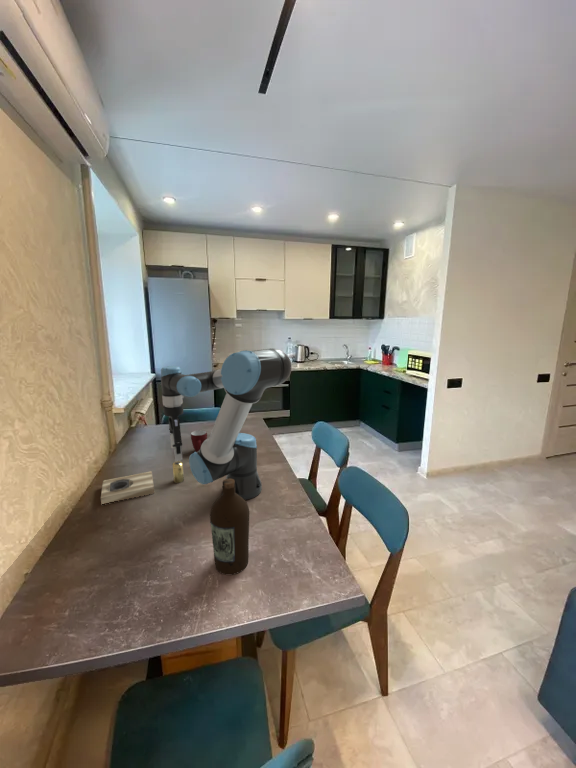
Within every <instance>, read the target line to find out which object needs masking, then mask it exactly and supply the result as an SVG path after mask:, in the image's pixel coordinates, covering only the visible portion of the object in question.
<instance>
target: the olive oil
mask: <svg viewBox="0 0 576 768" xmlns="http://www.w3.org/2000/svg"><path fill="white" fill-rule="evenodd" d="M210 508H211V509H210V511H209V512H210V513H209V524H210V528H211V529H210V530H211V539H212V548H213V558H214V566H215V569H216V571H217V570H218V571H217V572H219V573H220V572H221V573H220V574H222V573H223V574H222V575H226V574H232V575H235V574H234V573H236V574H238V573H237V572H239V573H240V571H241V570H242V571H244V569H245V568H246V567H247V566H248V564H249V551H250V550H249V548H250V546H249V543H250V541H249V539H250V538H249V537H250V508H249V505H248V503H247V500H244V499H243V498H242V497H241V496H239V495H238V494H237V493H235V481H234V479H226V478H225V479H224V480H222V494H221V495H220V496H219V497H218V498H217V499H216V500H215V501H214V503H213V504H212V506H211V507H210ZM242 571H241V572H242Z"/></svg>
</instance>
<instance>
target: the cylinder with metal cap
mask: <svg viewBox="0 0 576 768" xmlns="http://www.w3.org/2000/svg"><path fill="white" fill-rule="evenodd" d="M183 464H184V463H183V461H182V460H181V461H176V462H175V461H174V462H173V463H172V473H173V474H172V475H173V476H172V477H173V483H174V484H181V483H183V482H184V480H185V478H184V465H183Z"/></svg>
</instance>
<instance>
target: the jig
mask: <svg viewBox="0 0 576 768" xmlns="http://www.w3.org/2000/svg"><path fill="white" fill-rule="evenodd" d="M153 493H154V494H155V485H154V478H153V471H147V472H146V471H145V472H140V473H135V474H131V475H125V476H120V477H115V478H110V479H104V480H103V481H102V486H101V494H100V502H101V503H100V505H102V504H104V503H109V502H114V501H118V502H120V501H119V500H123V501H125V500H124V499H127V500H130V499H129V498H132V499H135V498H134V497H136V498H139V496H141V497H144V495H145V496H150V495H154V494H153ZM149 494H150V495H149ZM114 503H115V502H114ZM109 504H110V503H109Z"/></svg>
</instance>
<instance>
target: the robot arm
mask: <svg viewBox="0 0 576 768" xmlns="http://www.w3.org/2000/svg"><path fill="white" fill-rule="evenodd" d="M291 372H292V362H291V360H290V357H289V355H287V354H286V352H284V351H283V350H281V349H278V348H265V349H264V348H263V349H255V350H247V349H246V350H241V351H238V352H237V351H236V352H234V353H231V354H228V356H227V357H226V359H225V360H223V363H222V365H221V368H220V369H215V370H211V371H206V372H197V373H190V374H182V369H181V367H180V366H177V365H173V366H172V365H171V366H163V367H162V368H161V369H160V382H161V383H160V384H161V393H162V394H161V397H162V399H161V400H162V405H163V415H164V416H166V417H168V425H169V426H168V427H169V428H168V430H169V438H170V439H169V440H170V449H173V450H174V462H177V461H181V462H182V461H183V449H182V446H183V442H182V441H183V440H182V435H181V424H180V423H181V420H180V418H179V416H181V415H183V414H184V404H183V403H184V401H183V399H184V398H185V397H189V398H191V397H192V398H194V397H196V396H197V395H198V394H200V393H204V392H207V391H208V392H209V391H215V390H221V389H224V391H225V395H224V399H223V401H222V404H221V406H220V409H219V412H218V414H217V416H216V418H215V422H214V424H213V427H212V429H211V433H210V434H209V437H207V439H206V440H205V441H204V442H203V443H202V445H201V448H200V450H199V451H198V452H196V451H194V452H193V453H191V454H190V455H189V459H188V462H189V463H188V464H189V465H188V466H189V468H190V471H191V473H192V476H193V477H194V478H195V480H196V482H198V483H199V484H201V485H207V484H210V483H213V482H215V481H217V480H220V479H222V478H223V477H226V478H225V479H234V481H235V493H237V494H238V495H239V496H241V497H242V498H243V499H244V500H245V501H247V500H250V499H254V498H256V497H257V496H258V495H260V494H261V493H262V480H261V478H260V476H259V472H258V455H257V454H258V453H257V452H258V450H257V449H258V446H257V439H256V437H255V436H254V435H252V434H249V433H244V432H241V430H242V428H243V426H244V423H245V422H246V419H247V417H248V414H249V412H250V410H251V409H252V406H253V404H256V403H258V402H259V401H260V400H261V398H262V397H263V393H264V392H265V390H267V389H268V388H272V387H277V386H280V385H282V384H284V383H285V382H286V381H287V380H288V379H289V377H290V376H291Z"/></svg>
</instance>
